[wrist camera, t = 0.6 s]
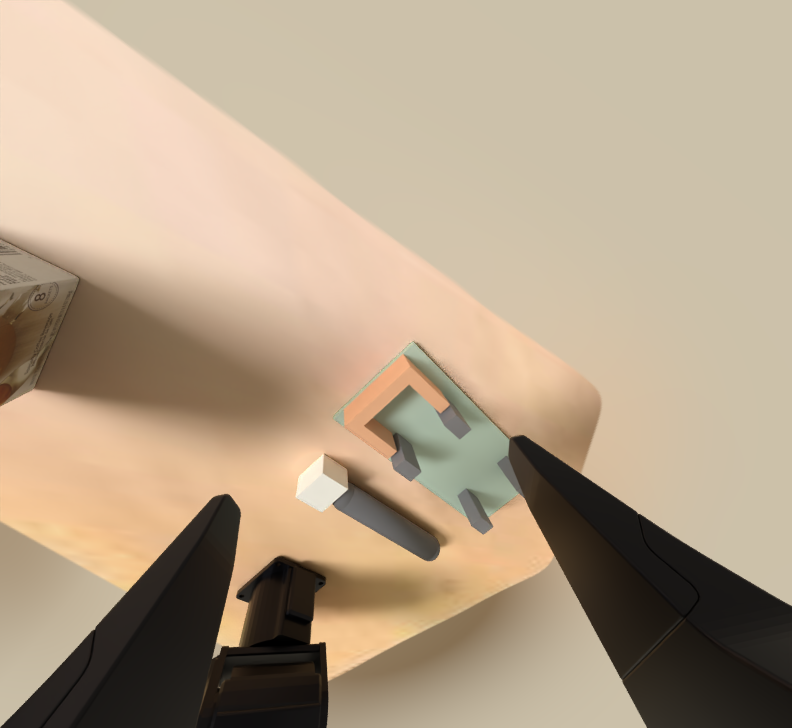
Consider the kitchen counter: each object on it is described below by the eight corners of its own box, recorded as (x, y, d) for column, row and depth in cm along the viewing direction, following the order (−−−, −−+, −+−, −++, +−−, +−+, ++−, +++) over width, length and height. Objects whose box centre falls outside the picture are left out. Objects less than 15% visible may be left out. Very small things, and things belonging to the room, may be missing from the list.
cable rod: (421, 550, 34) (427, 571, 32) (298, 476, 27) (295, 497, 25) (442, 533, 33) (450, 553, 31) (323, 453, 26) (322, 473, 24)
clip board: (475, 521, 33) (492, 556, 30) (333, 415, 25) (333, 446, 21) (540, 470, 32) (566, 501, 29) (412, 341, 24) (426, 360, 20)
